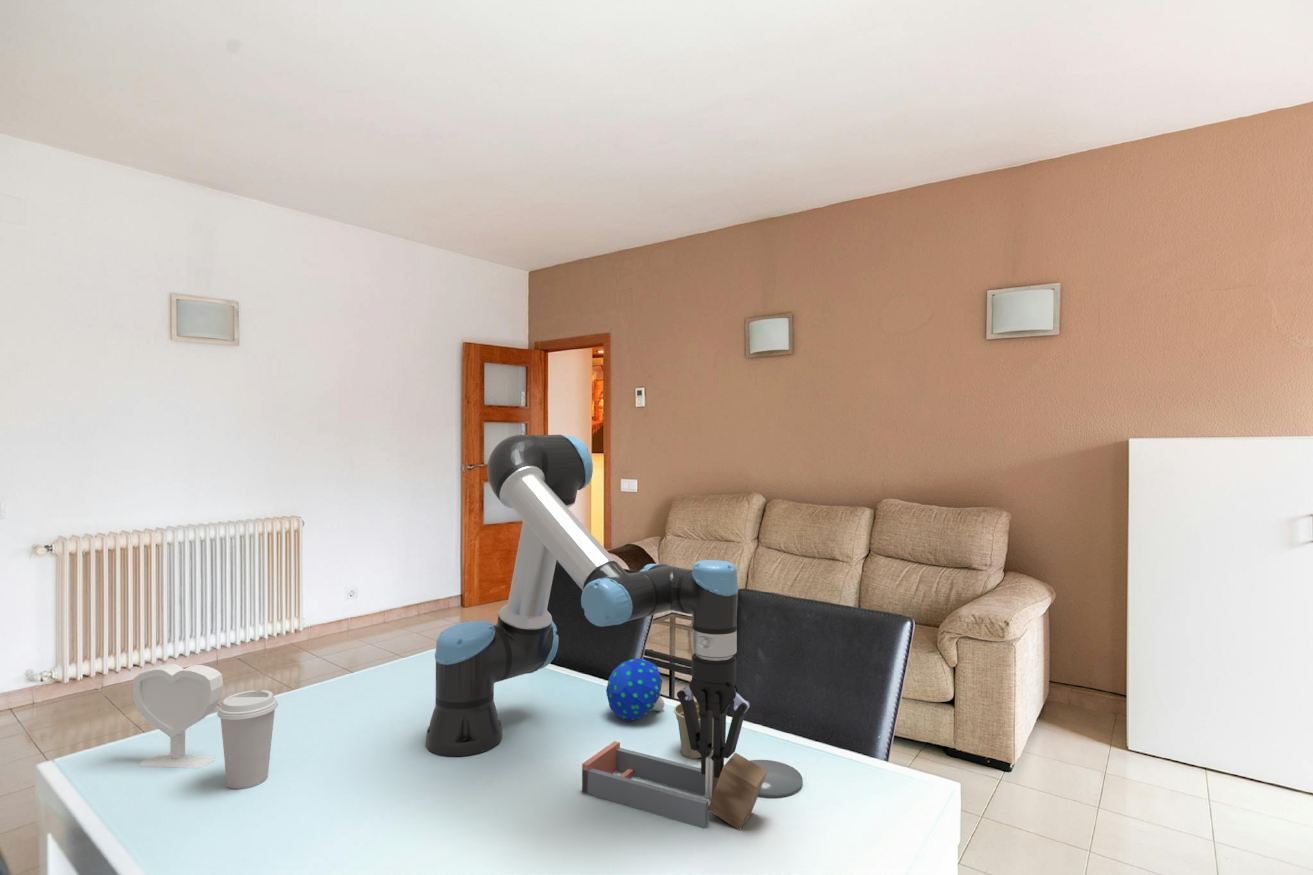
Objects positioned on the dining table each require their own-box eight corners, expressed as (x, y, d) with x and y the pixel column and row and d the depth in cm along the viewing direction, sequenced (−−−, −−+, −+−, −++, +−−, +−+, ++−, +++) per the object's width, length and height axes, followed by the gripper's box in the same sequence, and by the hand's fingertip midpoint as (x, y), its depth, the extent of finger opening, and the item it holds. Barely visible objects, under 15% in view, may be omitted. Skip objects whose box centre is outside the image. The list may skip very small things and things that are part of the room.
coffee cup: (289, 772, 132) (290, 692, 132) (244, 797, 123) (245, 710, 123) (250, 764, 135) (251, 685, 135) (203, 787, 126) (204, 703, 126)
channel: (581, 791, 126) (582, 763, 126) (614, 767, 135) (614, 740, 135) (705, 828, 114) (705, 797, 114) (731, 798, 124) (731, 770, 124)
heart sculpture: (128, 765, 134) (129, 670, 134) (148, 753, 139) (149, 661, 139) (207, 768, 133) (208, 672, 133) (225, 756, 138) (226, 664, 138)
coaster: (719, 786, 128) (719, 782, 128) (746, 758, 140) (746, 754, 140) (789, 805, 122) (789, 800, 122) (811, 773, 133) (811, 769, 133)
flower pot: (717, 765, 136) (718, 720, 136) (669, 760, 138) (670, 716, 138) (723, 744, 146) (723, 702, 146) (677, 740, 148) (678, 698, 148)
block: (707, 809, 117) (723, 767, 115) (720, 793, 122) (735, 752, 121) (739, 830, 114) (756, 787, 113) (751, 812, 120) (767, 771, 118)
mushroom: (691, 678, 163) (647, 647, 156) (671, 739, 155) (624, 710, 148) (651, 675, 173) (608, 646, 166) (630, 733, 165) (584, 705, 159)
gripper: (670, 653, 119) (667, 794, 119) (741, 666, 113) (738, 814, 113) (689, 642, 126) (687, 776, 126) (757, 654, 120) (755, 794, 120)
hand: (712, 794), depth 119 cm, fingers closed
